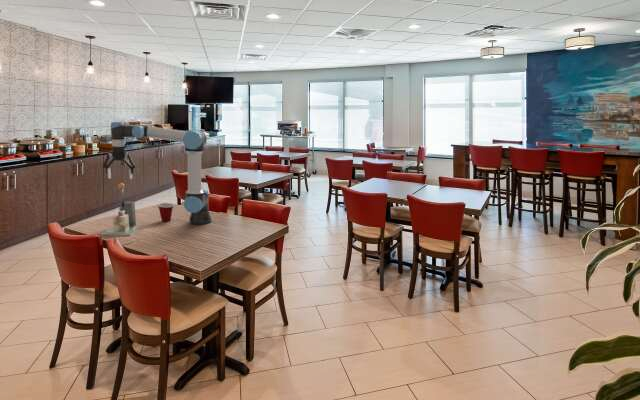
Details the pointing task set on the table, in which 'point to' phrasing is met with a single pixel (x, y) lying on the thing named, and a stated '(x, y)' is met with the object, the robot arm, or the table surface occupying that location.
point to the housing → (120, 222)
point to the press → (130, 210)
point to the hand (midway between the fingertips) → (120, 178)
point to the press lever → (121, 196)
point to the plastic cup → (165, 211)
